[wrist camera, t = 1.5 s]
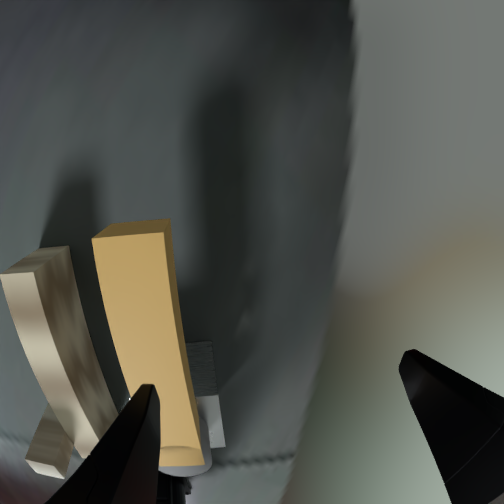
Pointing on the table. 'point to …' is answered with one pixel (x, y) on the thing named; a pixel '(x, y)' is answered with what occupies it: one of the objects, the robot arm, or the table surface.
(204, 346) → the jamb post
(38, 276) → the grey-beige crossed blocks
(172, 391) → the bar
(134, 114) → the table surface
